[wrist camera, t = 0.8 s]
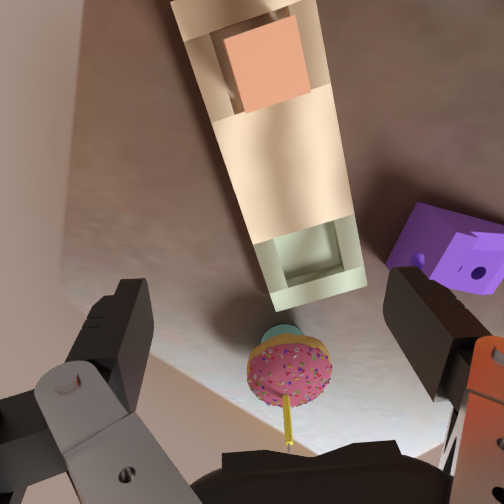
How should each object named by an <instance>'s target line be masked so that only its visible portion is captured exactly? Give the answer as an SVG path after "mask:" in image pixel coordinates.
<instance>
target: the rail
mask: <svg viewBox="0 0 504 504" xmlns="http://www.w3.org/2000/svg"><path fill="white" fill-rule="evenodd" d="M170 3H171V6H172V9H173V12H174V15H175V18H176V21H177V24H178V27H179V30H180V33H181V36H182V39H183V42H184V44H185V47H186V50H187V53H188V56H189V59H190V62H191V65H192V68H193V71H194V74H195V77H196V80H197V83H198V85H199V88H200V91H201V94H202V97H203V100H204V103H205V106H206V109H207V112H208V115H209V118H210V121H211V123H212V126H213V129H214V132H215V135H216V138H217V141H218V144H219V147H220V150H221V153H222V156H223V159H224V162H225V164H226V167H227V170H228V173H229V176H230V179H231V182H232V185H233V188H234V191H235V194H236V197H237V200H238V203H239V205H240V208H241V211H242V214H243V217H244V220H245V223H246V226H247V229H248V232H249V235H250V238H251V241H252V244H253V246H254V249H255V252H256V255H257V258H258V261H259V264H260V267H261V270H262V273H263V276H264V279H265V282H266V284H267V287H268V290H269V293H270V296H271V299H272V302H273V305H274V308H275V311H276V312H279V311H282V310H285V309H289V308H292V307H296V306H299V305H303V304H306V303H309V302H313V301H316V300H320V299H323V298H327V297H330V296H334V295H337V294H340V293H344V292H347V291H351V290H354V289H358V288H361V287H365V286H367V280H366V275H365V269H364V264H363V258H362V253H361V247H360V242H359V236H358V231H357V225H356V220H355V214H354V209H353V203H352V198H351V192H350V187H349V181H348V176H347V170H346V165H345V159H344V154H343V148H342V143H341V137H340V132H339V126H338V121H337V115H336V110H335V104H334V99H333V93H332V88H331V82H330V77H329V71H328V66H327V60H326V55H325V49H324V44H323V38H322V33H321V27H320V22H319V16H318V11H317V5H316V0H175V1H172V2H170ZM292 15H295V16H296V21H297V25H298V30H299V35H300V40H301V45H302V49H303V54H304V59H305V64H306V69H307V74H308V78H309V83H310V88H311V92H310V93H307V94H304V95H301V96H298V97H295V98H292V99H289V100H286V101H283V102H280V103H277V104H274V105H271V106H268V107H265V108H262V109H259V110H256V111H253V112H250V113H247V114H246V113H245V111H244V108H243V106H242V103H241V101H240V98H239V95H238V92H237V88H236V85H235V81H234V78H233V75H232V71H231V68H230V65H229V61H228V58H227V54H226V51H225V48H224V44H223V40H224V39H226V38H229V37H232V36H235V35H238V34H241V33H244V32H247V31H249V30H252V29H255V28H258V27H261V26H264V25H267V24H269V23H272V22H275V21H278V20H281V19H284V18H287V17H290V16H292Z"/></svg>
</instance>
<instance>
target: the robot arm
mask: <svg viewBox="0 0 504 504" xmlns="http://www.w3.org/2000/svg"><path fill="white" fill-rule="evenodd" d="M383 315H384V319H385V322H386V324H387V326H388V328H389V329H390V331H391V333H392V334H393V336H394V338H395V339H396V341H397V343H398V344H399V346H400V348H401V349H402V351H403V353H404V354H405V356H406V358H407V359H408V361H409V362H410V364H411V366H412V367H413V369H414V371H415V372H416V374H417V376H418V377H419V379H420V381H421V382H422V384H423V386H424V387H425V389H426V391H427V392H428V394H429V396H430V397H431V399H432V401H433V402H442V401H450V402H451V404H452V405H453V408H452V411H451V414H450V418H449V423H448V427H447V432H446V436H445V441H444V445H443V450H442V454H441V459H440V463H439V467H438V468H437V467H435V466H433V465H431V464H429V463H426V462H424V461H422V460H419V459H416V458H413V457H409V456H406V455H402V454H401V452H400V450H399V448H398V445H397V443H396V441H395V440H388V441H375V442H362V443H352V444H350V445H347V446H344V447H341V448H338V449H336V450H333V451H330V452H327V453H324V454H322V455H319V456H316V457H304V456H298V455H293V454H287V453H281V452H275V451H269V450H257V451H245V452H232V453H222V468H220V469H217V470H215V471H212V472H210V473H208V474H206V475H204V476H203V477H201V478H200V479H198V480H197V481H195V482H193V483H192V484H191V485H190V486H189V484H188V483H187V482H186V480H185V479H184V478H183V476H182V475H181V474H180V472H179V471H178V469H177V468H176V467H175V465H174V464H173V462H172V461H171V460H170V458H169V457H168V456H167V454H166V453H165V451H164V450H163V449H162V447H161V446H160V445H159V443H158V442H157V440H156V439H155V438H154V436H153V435H152V434H151V432H150V431H149V429H148V428H147V427H146V425H145V424H144V423H143V421H142V420H141V418H140V417H139V416H138V415H137V414H136V413H135V410H136V406H137V402H138V398H139V393H140V389H141V385H142V381H143V376H144V372H145V368H146V363H147V359H148V355H149V351H150V346H151V342H152V338H153V331H154V321H153V313H152V307H151V301H150V296H149V290H148V284H147V281H146V279H145V278H139V279H121V280H120V282H119V284H118V287H117V289H116V291H115V294H114V295H109V296H103V297H102V298H101V299H100V300H99V301H98V302H97V303H95V304H94V305H93V306H92V308H91V310H90V312H89V314H88V316H87V320H85V323H84V324H83V326H82V329H81V330H80V332H79V334H78V337H77V338H76V341H75V343H74V344H73V346H72V348H71V350H70V352H69V355H68V357H67V359H66V361H65V363H63V364H61V365H58V366H56V367H54V368H52V369H51V370H49V371H48V372H47V373H45V374H44V375H43V376H42V377H41V378H40V380H39V381H38V382H37V385H36V386H35V389H33V390H30V391H27V392H24V393H21V394H18V395H14V396H11V397H8V398H4V399H1V400H0V504H21V502H22V499H23V497H24V494H25V491H26V489H27V486H29V485H32V484H35V483H37V482H40V481H43V480H45V479H48V478H51V477H53V476H56V475H58V474H61V473H64V472H66V474H67V476H68V478H69V480H70V483H71V485H72V487H73V489H74V491H75V494H76V496H77V498H78V500H79V502H80V504H504V337H499V336H493V335H492V334H491V333H490V332H489V331H488V330H487V329H486V328H485V327H484V326H483V325H482V324H481V323H480V322H479V321H478V319H477V318H476V317H475V316H474V315H473V314H472V313H471V312H470V311H469V310H468V309H465V306H464V305H463V304H462V303H461V302H460V300H457V297H456V296H455V295H454V294H453V293H452V292H451V291H450V290H449V289H448V288H447V287H445V286H443V285H442V284H440V283H438V282H436V281H435V280H430V279H429V278H428V277H427V276H426V275H425V274H424V273H423V272H422V271H421V270H420V268H419V267H417V266H399V267H392V268H391V270H390V272H389V277H388V282H387V287H386V293H385V298H384V303H383Z"/></svg>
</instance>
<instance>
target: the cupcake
mask: <svg viewBox="0 0 504 504" xmlns="http://www.w3.org/2000/svg"><path fill="white" fill-rule="evenodd" d="M331 373H332V365H331V360H330V355H329V352H328V351H327V349H326V347H325V346H324V344H323V343H322V342H321V341H320V340H318V339H316V338H314V337H309V336H305V335H304V334H303V332H302V331H301V330H300V329H299V328H297V327H295V326H293V325H288V324H282V325H277V326H274V327H272V328H270V329H269V330H268V331H267V332H266V333H265V334H264V335H263V337H262V340H261V344H260V345H259V346H257V347H256V348H254V349H253V350H252V351H251V353H250V356H249V360H248V364H247V377H248V378H247V382H248V384H249V387H250V389H251V391H252V392H253V393H254V394H255V395H256V397H257V396H258V399H259V398H260V399H259V400H262V401H264V402H266V404H267V405H268V406H270V404H271V405H272V406H276V405H277V406H280V407H283V414H284V429H285V443H286V445H288V454H290V445H292V444H293V436H292V424H291V412H290V406H291V407H294V406H296V407H297V406H299V405H300V406H301V405H302V404H306V403H308V402H310V401H313V399H315V398H317V397H318V395H320V393H323V389H324V388H325V387H326V385H327V384H329V380H330V379H331V378H330V376H331Z"/></svg>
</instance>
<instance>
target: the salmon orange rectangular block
mask: <svg viewBox="0 0 504 504" xmlns="http://www.w3.org/2000/svg"><path fill="white" fill-rule="evenodd" d="M223 44H224V48H225V51H226V54H227V58H228V61H229V65H230V68H231V71H232V75H233V78H234V81H235V85H236V88H237V92H238V95H239V98H240V101H241V103H242V106H243V108H244V111H245V113H246V114H247V113H250V112H253V111H256V110H259V109H262V108H265V107H268V106H271V105H274V104H277V103H280V102H283V101H286V100H289V99H292V98H295V97H298V96H301V95H304V94H307V93H310V92H311V88H310V83H309V78H308V74H307V69H306V64H305V59H304V54H303V49H302V45H301V40H300V35H299V30H298V25H297V21H296V16H295V15H292V16H290V17H287V18H284V19H281V20H278V21H275V22H272V23H269V24H267V25H264V26H261V27H258V28H255V29H252V30H249V31H247V32H244V33H241V34H238V35H235V36H232V37H229V38H226V39H224V40H223Z"/></svg>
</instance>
